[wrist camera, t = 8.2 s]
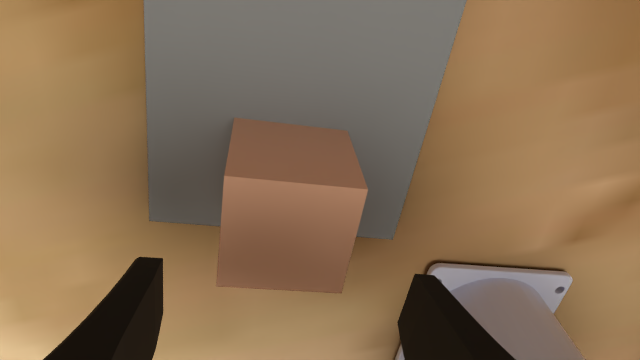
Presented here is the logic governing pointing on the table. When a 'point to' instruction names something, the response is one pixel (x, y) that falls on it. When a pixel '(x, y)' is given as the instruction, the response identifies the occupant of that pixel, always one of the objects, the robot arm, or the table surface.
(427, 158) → the table surface
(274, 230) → the block terracotta
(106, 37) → the table surface
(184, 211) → the board
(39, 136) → the table surface
